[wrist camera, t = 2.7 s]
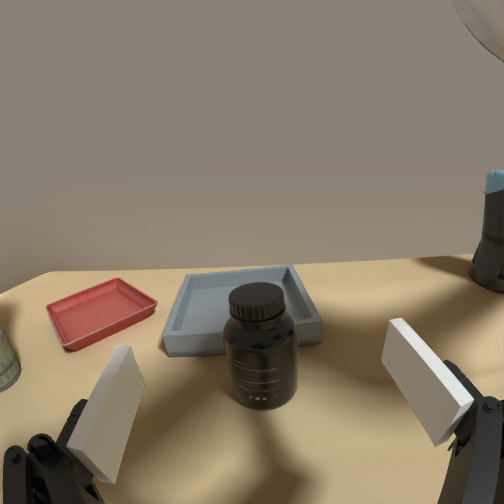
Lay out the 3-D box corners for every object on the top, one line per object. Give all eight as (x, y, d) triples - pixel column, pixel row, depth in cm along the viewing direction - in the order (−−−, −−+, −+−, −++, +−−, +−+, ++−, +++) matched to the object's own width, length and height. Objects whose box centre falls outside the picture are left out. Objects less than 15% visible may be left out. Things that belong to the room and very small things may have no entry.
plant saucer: (163, 317, 44) (159, 300, 43) (70, 363, 32) (61, 345, 31) (121, 290, 56) (118, 276, 55) (50, 320, 43) (44, 305, 42)
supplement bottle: (241, 367, 31) (229, 276, 28) (299, 370, 30) (299, 276, 26) (226, 409, 25) (205, 311, 21) (293, 415, 24) (294, 314, 20)
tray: (292, 281, 53) (292, 264, 52) (321, 342, 34) (322, 320, 33) (189, 291, 53) (186, 274, 52) (168, 357, 34) (162, 335, 33)
